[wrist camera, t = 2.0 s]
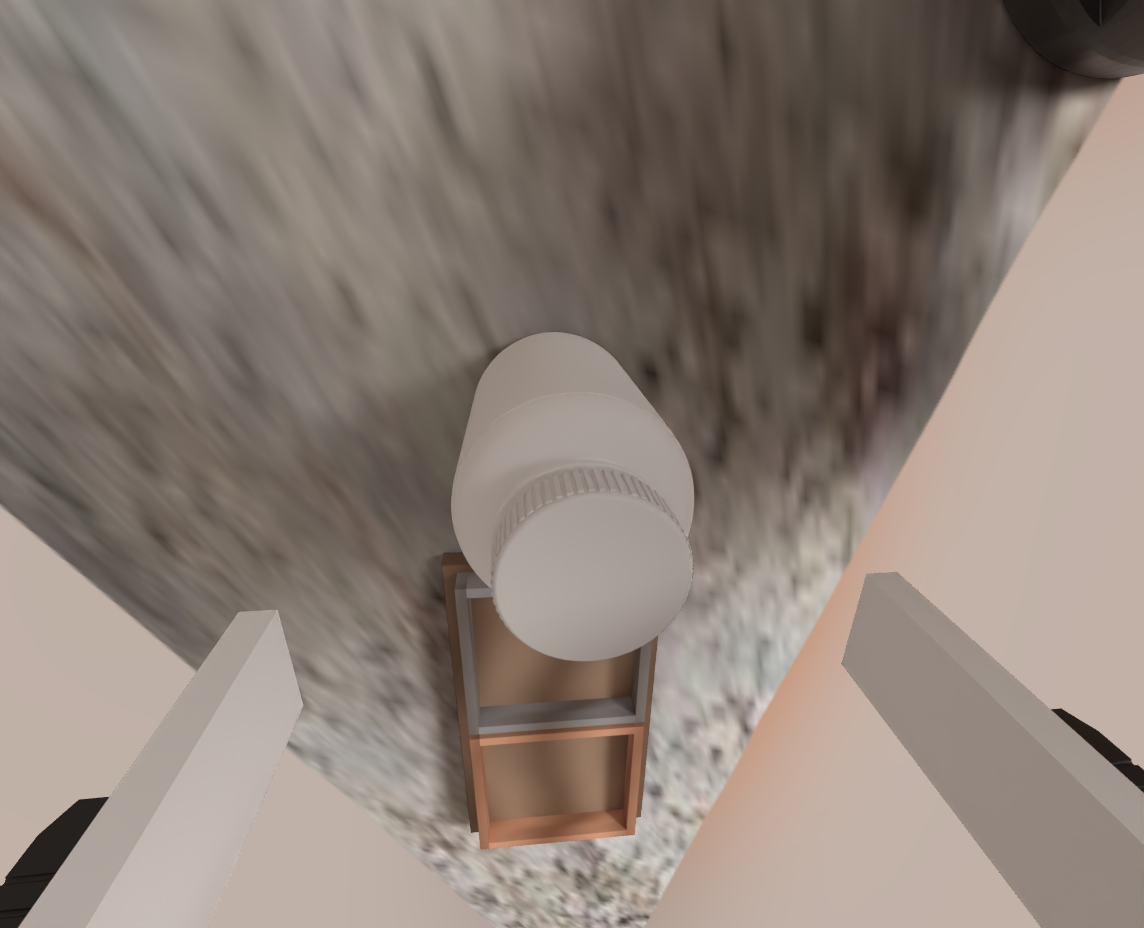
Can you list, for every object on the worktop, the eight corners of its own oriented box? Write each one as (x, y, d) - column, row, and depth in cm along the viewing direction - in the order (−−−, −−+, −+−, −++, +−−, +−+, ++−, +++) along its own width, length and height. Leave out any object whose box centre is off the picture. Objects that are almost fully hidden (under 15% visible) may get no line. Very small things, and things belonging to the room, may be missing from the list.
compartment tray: (660, 543, 31) (672, 570, 29) (637, 800, 41) (645, 838, 38) (444, 553, 30) (438, 582, 28) (472, 815, 40) (469, 854, 37)
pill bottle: (650, 348, 27) (793, 481, 13) (605, 490, 30) (681, 719, 16) (492, 307, 25) (464, 409, 11) (460, 460, 28) (408, 686, 14)
